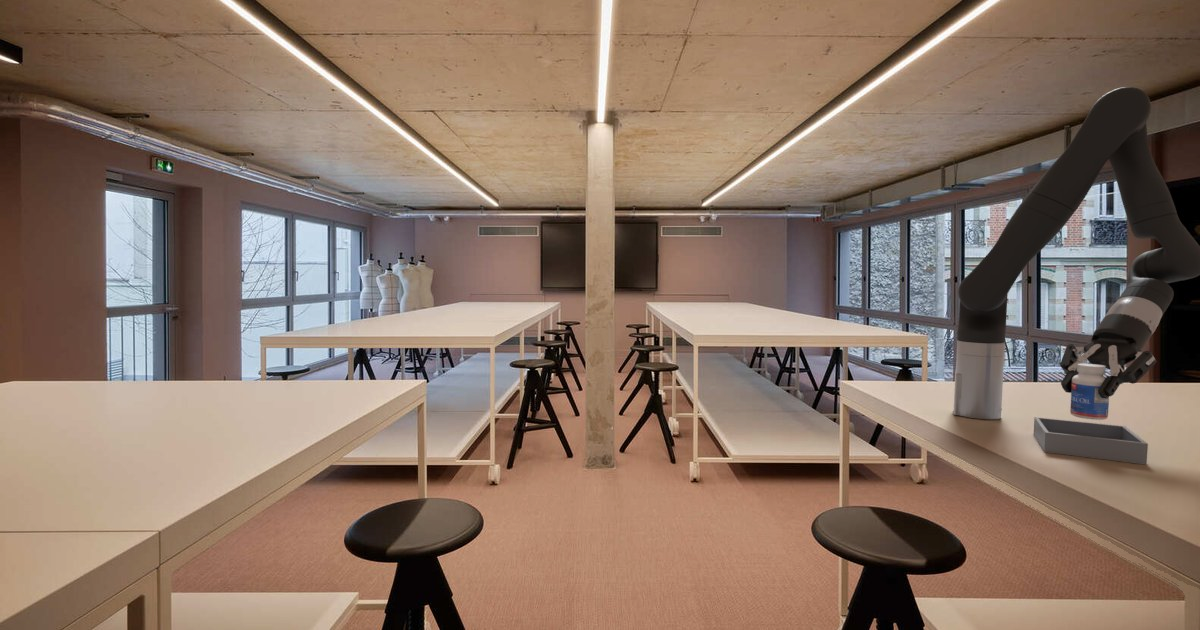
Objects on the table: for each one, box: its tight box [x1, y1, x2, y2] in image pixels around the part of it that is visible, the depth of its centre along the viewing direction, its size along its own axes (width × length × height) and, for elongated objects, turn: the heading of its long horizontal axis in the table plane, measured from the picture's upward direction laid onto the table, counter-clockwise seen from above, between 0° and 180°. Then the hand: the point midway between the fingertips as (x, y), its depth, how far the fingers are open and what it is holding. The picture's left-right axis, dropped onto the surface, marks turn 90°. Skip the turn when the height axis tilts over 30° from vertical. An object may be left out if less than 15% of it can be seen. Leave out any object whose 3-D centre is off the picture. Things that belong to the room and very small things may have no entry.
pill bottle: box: [1070, 363, 1110, 421], centre depth 108 cm, size 6×5×10 cm
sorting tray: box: [1033, 416, 1149, 466], centre depth 109 cm, size 14×14×4 cm
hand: (1083, 392), depth 108 cm, fingers closed on pill bottle, 5 cm apart
